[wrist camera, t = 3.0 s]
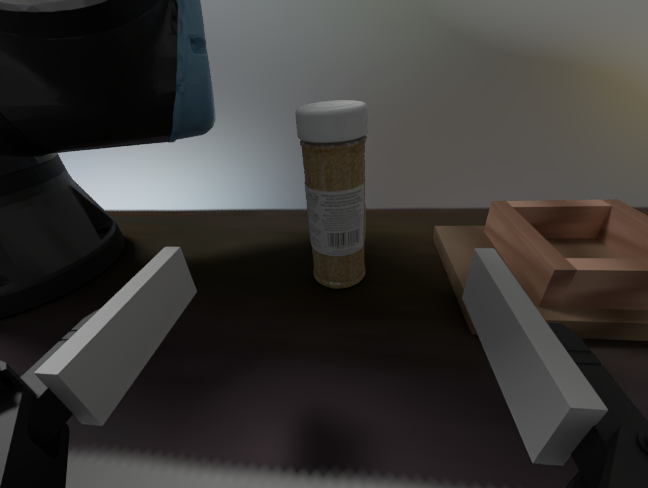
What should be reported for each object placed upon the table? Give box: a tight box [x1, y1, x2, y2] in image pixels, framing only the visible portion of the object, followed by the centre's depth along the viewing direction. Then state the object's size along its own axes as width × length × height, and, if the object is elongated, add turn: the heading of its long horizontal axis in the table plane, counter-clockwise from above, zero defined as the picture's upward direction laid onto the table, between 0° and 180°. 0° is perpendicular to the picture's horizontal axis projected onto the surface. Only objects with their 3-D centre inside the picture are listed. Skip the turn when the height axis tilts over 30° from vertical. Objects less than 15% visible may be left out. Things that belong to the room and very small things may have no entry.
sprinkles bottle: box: [296, 100, 368, 289], centre depth 22 cm, size 5×5×14 cm
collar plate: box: [433, 200, 648, 341], centre depth 22 cm, size 18×12×4 cm, turn 84°
